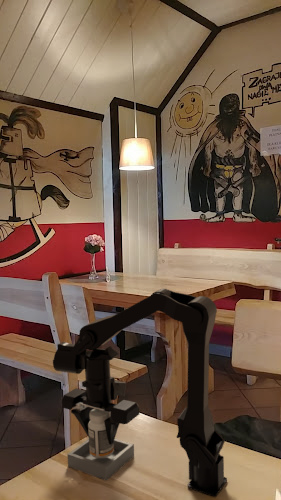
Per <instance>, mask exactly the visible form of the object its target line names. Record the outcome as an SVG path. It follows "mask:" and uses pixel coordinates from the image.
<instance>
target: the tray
mask: <svg viewBox="0 0 281 500" xmlns="http://www.w3.org/2000/svg"><path fill="white" fill-rule="evenodd" d="M113 443H114V451H113V453H112V454H111V455H110V456H108V457H106V458H95V457H93V456H92V455H91V454H90V450H89V438H88V439H86V440H85V441H84V442H82V443H81V444H79V445H78V446H76V447H75V448H73V450H71V451H70V452H68V453H67V467H68V468H71V469H73V470H77V471H79V472H82V473H85V474H88V475H89V476H93V477H95V478H98V479H101V480H103V481H106V482H107V481H108V480H109V479H110V478H111V477H112V476H114V475H115V474H116V473H117V472H118V471H119V470H121V468H122V467H124V466H125V465H126V464H127V463H128V462H130V461H131V460H132V459H133V458H134V457H135V444H134V443H131V442H128V441H124V440H121V439H117V438H115V439H114V442H113Z"/></svg>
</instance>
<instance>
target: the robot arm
mask: <svg viewBox="0 0 281 500" xmlns="http://www.w3.org/2000/svg"><path fill="white" fill-rule="evenodd" d="M217 311H218V309H217V305H216V303H215V302H214V301H213V300H212V299H211V298H209V297H208V296H204V295H200V296H194V295H192V294H187V293H182V292H176V291H173V290H170V289H167V288H160V289H158V290H156V291H154V292H153V293H152V294H150V295H149V296H147V297H146V298H144V299H142V300H140V301H138V302H136V303H135V304H133V305H131V306H129V307H127V308H125V309H123V310H121V311H120V312H118V313H115V314H112V315H108V316H105V317H101V318H98V319H95V320H94V321H91V322H90V323H87V324H85V325H84V326H82V327H81V328H80V329H79V335H78V337H79V338H78V339H77V340H76V342H75V343H68V342H66V341H62V342H60V343H58V344H57V349H56V351H55V353H54V356H53V359H52V365H53V366H52V367H53V369H54V371H56V372H63V373H69V374H78V375H79V374H81V373H82V372H83V371H84V376H85V377H84V378H85V380H83V381H82V382H81V387H83V388H85V389H79V388H74V389H72V390H70V391H69V392H67V393H65V394H63V396H62V397H61V408H62V409H66V410H69V411H70V413H71V414H73V416H74V417H75V418H76V420H77V421H78V422H79V424H80V426H81V428H82V429H83V431H84V433H85V434H86V435H87V436H86V437H88V438H89V432H88V423H89V421H90V416H89V413H90V411H91V410H93V409H99V410H103V411H108V412H110V417H109V418H107V419H106V420H104V423H105V428H106V433H107V438H108V441H109V444H110V445H111V444H112V443H113V442H114V439H116V436H117V431H118V429H119V426H120V424H121V425H128V423H130V422H131V421H133V420H134V419H135V418H137V417H138V416H139V415H140V405H139V404H138V402H135V401H131V400H128V399H127V400H125V399H123V400H121V401H120V402H118V403H117V404H116V403H114V402H113V401H115V400H117V399H118V396H121V397H125V396H126V389H127V388H126V387H127V382H125V381H120V380H115V377H113V376H111V364H110V363H111V360H114V359H115V358H116V357H118V356H119V352H117V350H115V349H114V348H113V347H112V346H110V345H109V346H108V347H106V348H100V347H102V346H103V345H105V344H107V343H109V342H110V341H111V340H112V339H114V338H115V337H116V336H117V335H118V334H119V333H120V332H121V331H123V330H124V329H126V328H129V327H130V326H131V325H134V324H136V323H137V322H138V323H139V322H140V321H141V320H143V319H145V318H148V317H149V316H151V315H153V314H155V313H158V312H160V313H163V314H164V315H166V316H168V317H170V318H171V319H173V320H174V321H178V322H180V323H181V326H182V332H183V333H184V336H185V339H186V341H187V397H186V398H187V400H186V401H187V402H186V403H187V404H186V406H185V408H184V409H183V411H182V412H181V413H180V415H179V416H178V418H177V420H176V422H177V429H178V430H177V431H178V432H177V435H176V438H177V439H179V444H180V448H182V449H183V450H184V452H185V453H186V456H187V459H188V479H189V482H188V483H187V489H188V488H189V489H190V490H194V491H197V492H200V493H202V494H203V493H204V494H206V495H209V496H211V497H217V496H218V495H219V494H220V492H221V491H222V489H223V487H224V486H225V484H226V483H228V482H227V481H228V477H225V469H224V468H225V466H224V465H225V464H224V463H225V462H224V461H225V460H224V456H223V455H221V454H220V453H221V451H222V449H223V448H224V445H225V442H226V440H225V439H224V438H223V437H222V436H221V434H220V433H219V432H218V431H217V430H216V429H215V425H214V419H213V414H212V412H211V409H210V407H209V372H210V371H209V370H210V368H209V367H210V364H209V362H210V340H211V336H212V333H213V330H214V327H215V323H216V322H215V321H216V317H217ZM112 402H113V403H112Z"/></svg>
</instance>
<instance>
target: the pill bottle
mask: <svg viewBox="0 0 281 500" xmlns="http://www.w3.org/2000/svg"><path fill="white" fill-rule="evenodd" d="M89 416H90V421H89V423H88V432H89V437H88V439H89V450H90V454H91V455H92V456H93V457H95V458H106V457H108V456H110V455H111V454H112V453H113V451H114V443H112V444H111V445H110V444H109V441H108V438H107V433H106V428H105V423H104V420H106V419H107V418H109V417H110V412H108V411H103V410H99V409H95V408H94V409H93V410H91V411H90V413H89Z"/></svg>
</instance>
